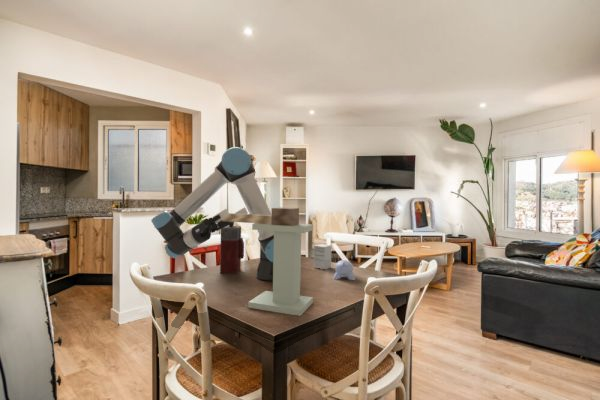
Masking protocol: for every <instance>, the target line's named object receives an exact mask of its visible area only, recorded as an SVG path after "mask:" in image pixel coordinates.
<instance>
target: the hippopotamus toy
mask: <svg viewBox="0 0 600 400" xmlns="http://www.w3.org/2000/svg"><path fill="white" fill-rule="evenodd" d="M334 268H335V273H334V274H333V278H332V279H333V280H340V279H342V276H346V277H347V280H349V281H352V280H354V281H356V276H355V274H354V272H353V271H354V266H353V264H352V263H351V261H350V260H345V259H341V260H339V261H337V262H336V263H335V265H334Z"/></svg>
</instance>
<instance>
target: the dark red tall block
mask: <svg viewBox="0 0 600 400" xmlns="http://www.w3.org/2000/svg"><path fill="white" fill-rule="evenodd" d="M243 239H244V238H243V237H242V226H241V225H235V222H234V223H232V224H230V225H228V226H226V227H224V228H222V229H220V259H219V263H220V265H219V267H220V270H219V273H220V274H226V275H227V274H229V275H231V274H233V275H235V274H237V275H238V274H239V273H240V271H241V260H242V259H244V257H245V255H244V254H245V241H244V240H243Z"/></svg>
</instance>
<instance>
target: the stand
mask: <svg viewBox="0 0 600 400" xmlns="http://www.w3.org/2000/svg"><path fill="white" fill-rule="evenodd" d="M251 225H252V228H251V230H255V231H258V230H266V231H274V255H273V280H272V291H269V290H264V291H263V292H261V293H260V294H259V295H257V296H255V297H254V298H252V299H251V300H249V301H248V303H247V305H248V306H247V308H249V309H253V310H261V311H267V312H273V313H280V314H286V315H290V316H291V315H292V316H297V315H298V317H301V316H302V315H303V314H304V313H305V312H306V311H307V309H308V308H310V306H311V305H312V304H313V302H314V297H313V296H304V295H301V264H302V262H301V261H302V260H301V259H302V234H306V233H309V232H311V231H313V230H314V224H311V223H310V224H308V223H307V224H306V223H299V224H298V225H294V226H283V225H271V224H261V223H256V224H254V223H251Z"/></svg>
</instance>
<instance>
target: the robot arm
mask: <svg viewBox="0 0 600 400" xmlns="http://www.w3.org/2000/svg"><path fill="white" fill-rule="evenodd" d="M255 175H256V170H255V167H254V165H253V162H252V159H251V155H250V153H248V151H247V150H245V149H243V148H242V147H238V146H233V147H230V148H228V149H226V150H225V151H224V153H222V156H221V161H220V162H219V163H218V164H217V165H216V166H215V167H214V171H213V172H212V173H211V174H210V175H209V176H208V177H207V178H205V180H203V181H202V182H201V183H200V184H199V185H198V186H197V187H195V189H193V190H192V192H191V193H189V194H188V195H187V196H186V197H184V199H183V200H182V201H181V202H180V203H179V204H177V205H176V206H175V207H174V208H173V209H172V210H171V211H170V212H169V211H168V210H164V211H162V212H161V213H159V214H157V215H155V216H154V217H153V218H151V223H152V226H154V228H155V229H156V230H157V232H159V234H160V236H161V237H162V238H163V239H164V241H165V242H166V244H165V247H164V249H165V253H166V254H167V256H168V257H170V258H173V259H177V258H179V257H181V256H184V255H185V254H187V253H188V252H190V251H192V250H193V249H195V248H196V249H197V248H199V246H200V245H201V244H203V243H205V242H206V241H209V240H210V239H211V236H212V234H213V233H215V232H218V231H221V229H222V228H224V227H226V226H229V225H230V224H232V223H234V224H235V222H227V221H222V220H223V219H225V218H226V217H228V216H229V213H230V212H229V211H228V209H227V208H224V210H221V211H220V212H218V213H216V214H215V215H213V216H212V217H209V218H205V219H204V220H203V221H201V222H199V223H198V224H196V225H194V226H193V227H192V228H190V229H188V230H186V231H185V232H184V231H183V230H182V228H180V227H181V226H182V225H183V224H184V223H186V221H187V220H188V219H189V218H190V217H191V216H192V215H194V214H195V213H196V212H197V211H198V210H199V209H200V208H201V207H202V206H203V205H204V204H206V203H207V201H209V200H210V199H211V198H212V197H213V196H214V195H215V194H216V193H217V192H218V191H219V190H220V189H221V188H222V187H224V186H225V185H226V184H232V185H235V187H236V189H237V190H238V192H239V194H240V197H241V198H242V201H243V202H244V205H245V207H242V208H241V209H239V210H237V211H236V212H235V214H255V215H272V211H271V210H270V208H269V206H268V204H267V202H266V199H265V198H264V196H263V193H262V191H261V189H260V187H259V185H258V182H257V180H256V179H255ZM253 224H256V223H253ZM257 233H258V234H259V235H258V238H257V240H258V242H259V263H258V266H257V269H256V271H255V277H256V278H257V279H258V280H262V281H273V255H274V231H266V230H257Z"/></svg>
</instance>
